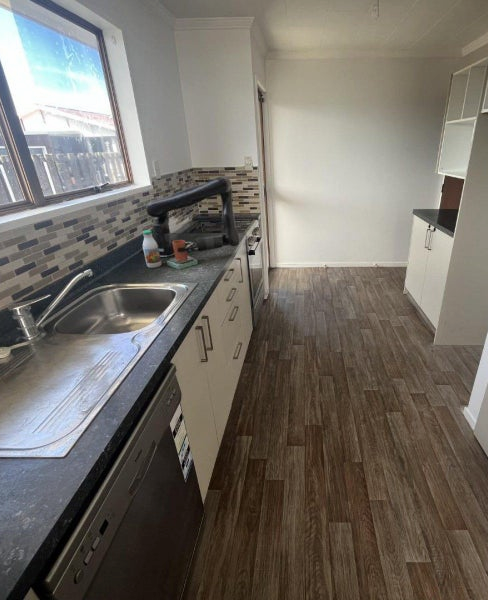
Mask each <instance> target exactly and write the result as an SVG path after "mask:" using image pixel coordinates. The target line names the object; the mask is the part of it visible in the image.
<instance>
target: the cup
mask: <svg viewBox="0 0 488 600" xmlns="http://www.w3.org/2000/svg"><path fill="white" fill-rule="evenodd" d="M185 242H186V240H184V239H176V240H173V241H172V245H173V250H174V258H175V259H176V260H178V261H182V260H186V259H188V256H189V255H188V252H178V250H177V249H178V248H183V247H184V248H185V247H186V244H185Z"/></svg>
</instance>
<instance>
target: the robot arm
mask: <svg viewBox="0 0 488 600" xmlns="http://www.w3.org/2000/svg"><path fill="white" fill-rule="evenodd" d="M232 185H233V184H232V181H231V179H230V178H229V177H227V176H224V175H222V176H221V175H220V176H217V177H215V178H213V179H211V180H209V181H207V182H205V183H203V184H198V185H194V186H189V187H186V188H184V189H181V190H179V191H177V192H174V193H172V194H171V195H169V196H167V197H165V198H159V199H158V198H157V199H153V200H150V201H149V202H148V203H147V204H146V206H145V212H146V214H147V215H148V216H150V217H152V223H151V229H152V234H153V238H154V240H155V241H156V243H157V245H158V249H159V254H160V258H169V257H173V256H175V254H174V249H173V244H172V242H173V241H172V235H171V230H170V219H169V218H170V217H169V212H172V211H175V210H180V209H183V208H187V207H191V206H193V205H196V204H198V203H200V202H202V201H203V200H206V199H208V198H211V197H214V196H219V197H220V201H221V219H222V224H223V229H224V230H225V234H221V235H215V236H214V235H213V236H206V237H197V238H195V240H194V242H193V241H192V240H189V241H185V244H186V247H185V248H184V247H183V248H178V249H177V250H178V252H187V253H192V252H200V253H201V252H206V251H211V250H216V249H221V248H222V247H225V246H230V247H237V246H239V244H240V235H239V232H238V229H237V226H236V220H235V213H234V206H233V194H232V193H233V191H232V190H233V189H232V188H233V187H232ZM142 252H144V251H143V249H140V251H139V253H142Z"/></svg>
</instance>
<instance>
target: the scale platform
mask: <svg viewBox="0 0 488 600" xmlns="http://www.w3.org/2000/svg"><path fill="white" fill-rule="evenodd" d="M193 259H195V257H192V256H189V255H188V259H186V260H182V261H178V260H176V259H175V257H173V258H169V259H168V261H172V262H175V263H178V264H180V263H183V262H187V261H190V260H193Z"/></svg>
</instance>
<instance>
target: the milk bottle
mask: <svg viewBox="0 0 488 600" xmlns="http://www.w3.org/2000/svg"><path fill="white" fill-rule="evenodd" d="M142 236H143V241H142V250H143V251H142V252H143V256H144V259H145V263H146V267H147V268H148V269H154V268H159V267H161V266H162V259H161V258H162V257H160V254H159V249H158V245H157V243H156V241H155V238H154V236H153V230H151V229H150V230H149V229H146V230H143V231H142Z"/></svg>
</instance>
